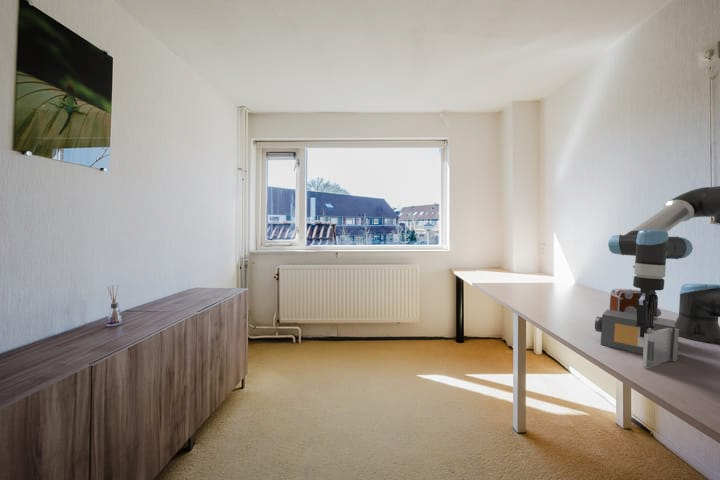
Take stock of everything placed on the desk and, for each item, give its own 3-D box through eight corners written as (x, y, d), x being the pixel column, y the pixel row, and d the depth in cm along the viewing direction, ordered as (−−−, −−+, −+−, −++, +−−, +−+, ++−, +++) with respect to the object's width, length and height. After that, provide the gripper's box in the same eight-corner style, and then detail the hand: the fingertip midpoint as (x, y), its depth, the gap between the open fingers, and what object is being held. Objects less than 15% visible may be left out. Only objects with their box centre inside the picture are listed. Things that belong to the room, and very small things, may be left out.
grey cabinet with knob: (597, 336, 133) (599, 306, 133) (676, 353, 117) (679, 318, 116) (591, 343, 124) (593, 311, 124) (676, 362, 108) (679, 325, 107)
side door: (642, 366, 103) (644, 333, 102) (666, 359, 109) (668, 327, 109) (650, 368, 101) (652, 335, 100) (674, 361, 108) (676, 329, 107)
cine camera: (673, 342, 128) (676, 293, 127) (618, 338, 132) (621, 290, 131) (656, 335, 137) (659, 289, 136) (605, 331, 141) (608, 286, 140)
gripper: (640, 273, 111) (635, 339, 112) (627, 276, 104) (622, 346, 105) (670, 277, 105) (664, 346, 106) (657, 279, 98) (651, 354, 99)
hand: (643, 346), depth 105 cm, fingers closed
